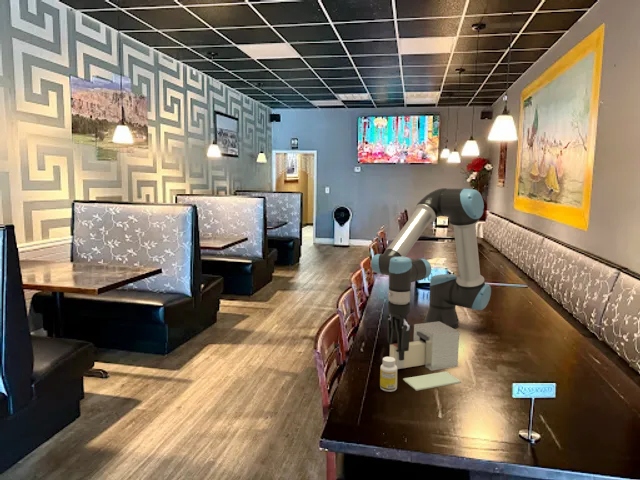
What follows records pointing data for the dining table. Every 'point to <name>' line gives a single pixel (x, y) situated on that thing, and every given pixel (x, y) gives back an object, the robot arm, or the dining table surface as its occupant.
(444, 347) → the plate
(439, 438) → the dining table surface
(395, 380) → the supplement bottle
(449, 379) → the pad
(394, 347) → the cream rectangular block
